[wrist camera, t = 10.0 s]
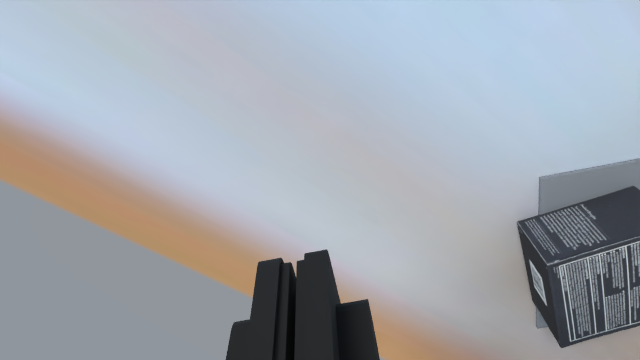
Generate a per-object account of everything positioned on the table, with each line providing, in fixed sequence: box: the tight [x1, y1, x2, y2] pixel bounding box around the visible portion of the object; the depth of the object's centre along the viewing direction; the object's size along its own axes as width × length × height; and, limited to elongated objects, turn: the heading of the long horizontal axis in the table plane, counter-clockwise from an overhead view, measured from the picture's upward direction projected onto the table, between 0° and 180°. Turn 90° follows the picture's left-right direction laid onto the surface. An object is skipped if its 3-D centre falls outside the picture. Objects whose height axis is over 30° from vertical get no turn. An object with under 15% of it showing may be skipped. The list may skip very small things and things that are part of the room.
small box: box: [517, 186, 640, 348], centre depth 41 cm, size 11×6×10 cm
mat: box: [536, 159, 640, 328], centre depth 45 cm, size 10×18×1 cm, turn 11°
